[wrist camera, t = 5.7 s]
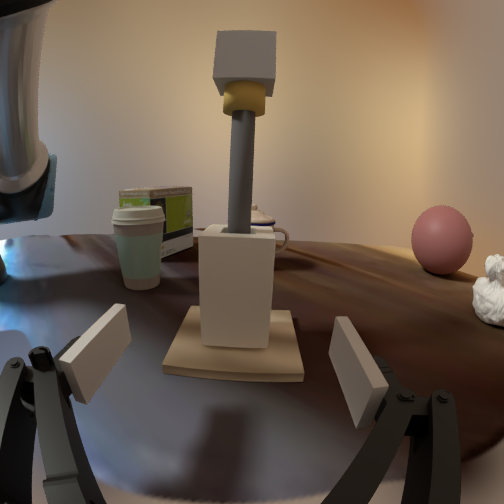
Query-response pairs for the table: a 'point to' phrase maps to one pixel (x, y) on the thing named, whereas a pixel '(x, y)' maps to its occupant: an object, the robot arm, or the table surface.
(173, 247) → the tea box
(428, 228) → the balloon
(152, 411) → the table surface
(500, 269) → the bust
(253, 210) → the teacup with lid
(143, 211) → the coffee cup
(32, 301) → the table surface
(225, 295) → the marker sleeve
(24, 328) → the table surface
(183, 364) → the tan slab base
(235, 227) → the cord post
